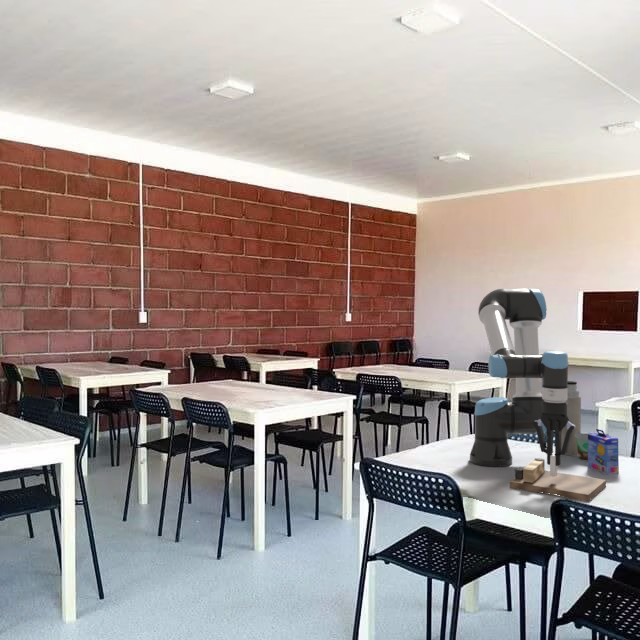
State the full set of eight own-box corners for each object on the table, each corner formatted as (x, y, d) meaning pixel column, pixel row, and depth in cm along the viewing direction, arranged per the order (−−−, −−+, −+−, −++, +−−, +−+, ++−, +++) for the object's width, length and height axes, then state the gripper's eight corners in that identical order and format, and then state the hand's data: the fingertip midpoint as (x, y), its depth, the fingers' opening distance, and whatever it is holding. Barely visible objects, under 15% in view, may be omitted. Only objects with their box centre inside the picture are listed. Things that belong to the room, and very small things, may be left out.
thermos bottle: (566, 450, 262) (567, 379, 262) (584, 453, 256) (585, 381, 255) (554, 452, 258) (554, 381, 257) (571, 456, 251) (572, 383, 250)
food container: (574, 460, 245) (574, 433, 245) (574, 456, 251) (574, 430, 251) (610, 463, 241) (610, 436, 241) (609, 459, 247) (609, 432, 246)
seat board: (509, 487, 210) (509, 472, 210) (531, 474, 226) (531, 459, 226) (588, 501, 196) (588, 484, 196) (605, 486, 212) (606, 470, 212)
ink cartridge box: (586, 467, 235) (586, 427, 235) (599, 466, 237) (599, 426, 237) (605, 474, 226) (606, 432, 226) (619, 473, 228) (619, 431, 227)
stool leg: (535, 470, 223) (535, 457, 223) (545, 472, 221) (545, 458, 221) (522, 482, 209) (522, 468, 209) (533, 483, 208) (533, 469, 207)
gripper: (529, 400, 208) (529, 474, 209) (572, 404, 201) (571, 481, 202) (537, 397, 214) (536, 469, 215) (579, 401, 207) (578, 476, 208)
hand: (553, 475), depth 208 cm, fingers closed
